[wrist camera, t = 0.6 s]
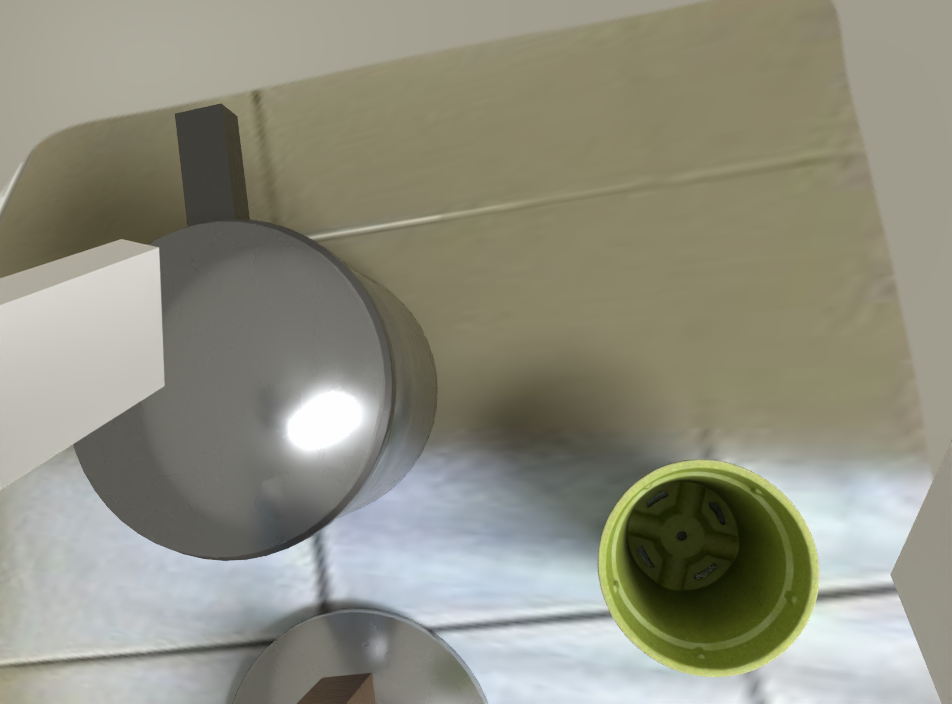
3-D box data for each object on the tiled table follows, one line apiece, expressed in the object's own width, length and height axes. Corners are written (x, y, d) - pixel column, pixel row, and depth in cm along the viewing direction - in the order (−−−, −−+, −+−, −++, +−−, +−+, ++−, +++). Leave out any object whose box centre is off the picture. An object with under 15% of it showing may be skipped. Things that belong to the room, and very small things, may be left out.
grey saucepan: (460, 503, 43) (409, 542, 31) (211, 536, 45) (77, 583, 33) (409, 151, 45) (344, 62, 33) (174, 200, 47) (34, 132, 35)
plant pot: (701, 415, 41) (730, 418, 33) (807, 559, 40) (866, 601, 31) (563, 508, 42) (556, 535, 34) (662, 653, 41) (681, 719, 32)
